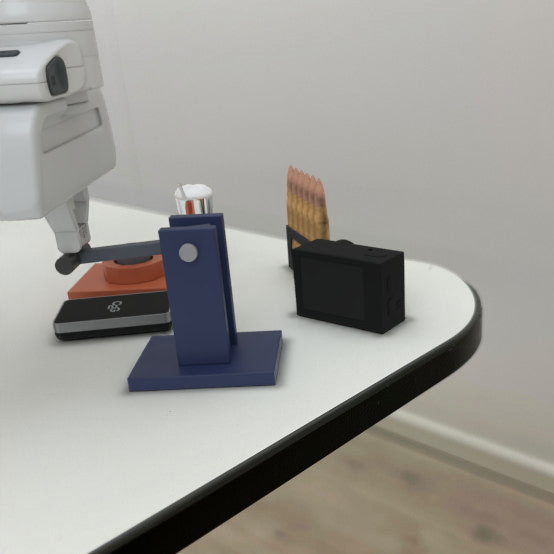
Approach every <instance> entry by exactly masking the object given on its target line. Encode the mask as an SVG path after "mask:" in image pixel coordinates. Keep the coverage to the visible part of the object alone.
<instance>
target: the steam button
mask: <svg viewBox="0 0 554 554" xmlns="http://www.w3.org/2000/svg"><path fill="white" fill-rule="evenodd" d="M133 243H136V241H135V242H133ZM125 244H127V242H126V243H125ZM150 260H151V257H150V256H144V257H136V258H128V259H119V260H116V261H117V264H120V265H134V264H140V263H145V262H147V261H150Z"/></svg>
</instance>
